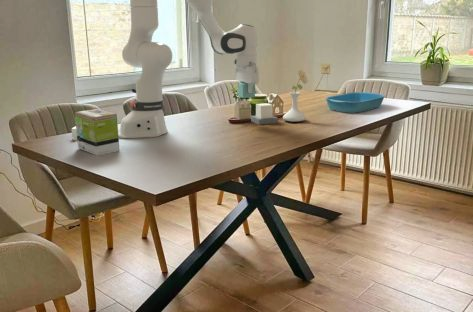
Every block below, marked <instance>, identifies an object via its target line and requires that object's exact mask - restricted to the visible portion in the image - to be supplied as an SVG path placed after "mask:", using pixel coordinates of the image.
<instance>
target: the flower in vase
mask: <svg viewBox="0 0 473 312" xmlns="http://www.w3.org/2000/svg"><path fill="white" fill-rule="evenodd" d="M297 74H298V77H299V79H298V82H297V85H296V86H295V85H292V87H291V89H292V90H294V91H292V92H291V91H290V92H289V95H290V97H291V99H292V100H291V101H292V103H291V104H292V106H291V108H290V109H289V110H288V111H287V112H286V113H284V115H283V116H282V119H283V120H284V121H286V122H292V123H294V122H295V123H297V122H304V121H305V120H307V116H306V114H304V112H302V111H301V110H300V109H299V107H298V99H299V96H300V94H301V92H300V91H297V90H298V89H299V90H303V85H302V84H299V83H300V81H301V82H302V83H303V84H308V82H309V81H308V79H309V77H308V76H307V75H306V72H305V71H303V68H298V70H297Z"/></svg>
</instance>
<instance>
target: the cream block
mask: <svg viewBox="0 0 473 312" xmlns="http://www.w3.org/2000/svg"><path fill="white" fill-rule="evenodd" d="M273 111H274V110H273V104H271V103H269V102H266V103H264V102H263V103H255V115H256V117H259V118H272V116H273Z"/></svg>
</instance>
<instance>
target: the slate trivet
mask: <svg viewBox="0 0 473 312" xmlns="http://www.w3.org/2000/svg"><path fill="white" fill-rule="evenodd" d="M250 119H251V121H250V122H251V123H255V124H256V125H270V124H278V123H279V117H277V116H274V115H272V118H259V117H256V114H255V115H250ZM250 119H249V120H250Z"/></svg>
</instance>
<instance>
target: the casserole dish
mask: <svg viewBox="0 0 473 312" xmlns="http://www.w3.org/2000/svg"><path fill="white" fill-rule="evenodd" d="M384 98H385V95H384V94H380V93H378V92H377V93H376V92H367V91H366V92H363V91H356V92H355V91H353V92H346V93H342V94H341V93H340V94H336V95H331V96H327V97H326V98H325V101H326V104H327V106H328V108H329V110H331V111H332V110H336V111H335V112H338V111H342V112H341V113H345V112H349V113H348V114H355V112H358V113H362V111H363V112H367V111H366V110H368V111H371V110H370V109H372V110H375V109H377V107H378V108H379V107H380V106H381V105H382V104H383V100H384ZM374 108H375V109H374Z"/></svg>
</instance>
